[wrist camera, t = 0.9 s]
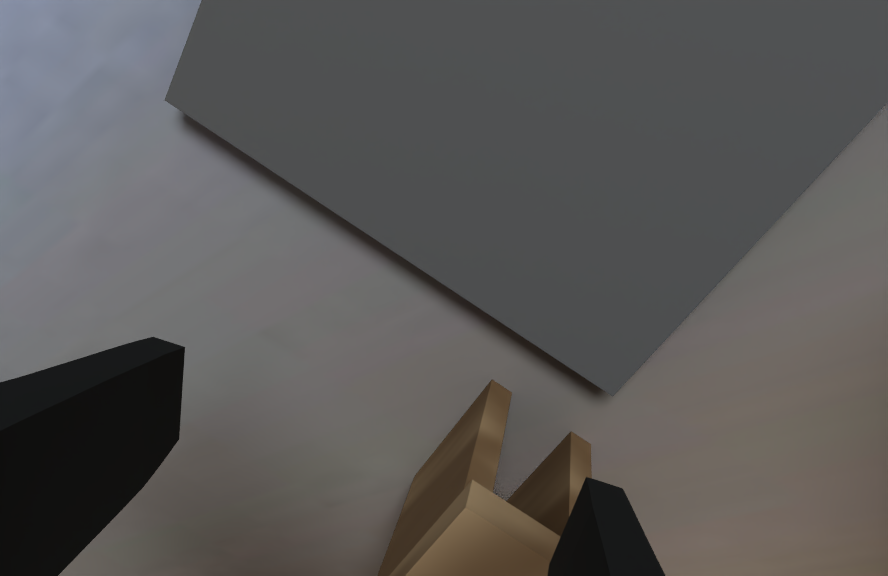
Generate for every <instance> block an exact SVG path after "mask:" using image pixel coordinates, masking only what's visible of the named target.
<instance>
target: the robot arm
mask: <svg viewBox="0 0 888 576" xmlns="http://www.w3.org/2000/svg"><path fill="white" fill-rule="evenodd" d="M184 353H185V347H183V346H180V345H177V344H173V343H170V342H167V341H164V340H161V339H158V338H155V337H151V338H147V339H143V340H139V341H135V342H132V343H128V344H125V345H122V346H118V347H115V348H112V349H109V350H105V351H102V352H99V353H96V354H93V355H89V356H86V357H83V358H80V359H77V360H74V361H70V362H67V363H64V364H61V365H58V366H54V367H51V368H48V369H45V370H41V371H38V372H35V373H32V374H29V375H25V376H22V377H19V378H15V379H11V380H8V381H4V382H0V576H58V575H59V574H60V573H61V572H62V571H63V570H64V569H65V568H66V567H67V566H68V565H69V564H70V563H71V562H72V561H73V559H74V558H75V557H76V556H77V555H78V554H79V553H80V552H81V551H82V550H83V549H84V548H85V547H86V546H87V545H88V544H89V543H90V542H91V541H92V540H93V539H94V538H95V537H96V536H97V535H98V534H99V533H100V532H101V531H102V530H103V529H104V528H105V527H106V526H107V525H108V524H109V523H110V521H111V520H112V519H113V518H114V517H115V516H116V515H117V514H118V513H119V512H120V511H121V510H122V509H123V508H124V507H125V506H126V505H127V504H128V503H129V502H130V501H131V500H132V498H133V497H134V496H135V495H136V494H137V493H138V492H139V491H140V490H141V489H142V488H143V487H144V485H145V484H146V483H147V482H148V480H149V479H150V478H151V476H152V475H153V474H154V473H155V471H156V470H157V469H158V467H159V466H160V465H161V463H162V462H163V461H164V459H165V458H166V456H167V455H168V454H169V452H170V451H171V450H172V448H173V447H174V445H175V444H176V443H177V441H178V440H179V431H180V415H181V399H182V384H183V368H184ZM548 576H665V574H664V572H663V570H662V568H661V566H660V564H659V562H658V560H657V558H656V556H655V554H654V552H653V550H652V548H651V546H650V544H649V542H648V540H647V538H646V536H645V534H644V531H643V529H642V527H641V525H640V523H639V521H638V519H637V517H636V515H635V513H634V511H633V508H632V506H631V504H630V502H629V500H628V498H627V496H626V494H625V492H624V490H623V489H622V488H619V487H616V486H613V485H610V484H607V483H604V482H601V481H598V480H595V479H591V478H588V477H586V478H585V481H584V483H583V485H582V488H581V490H580V492H579V495H578V497H577V500H576V502H575V504H574V507H573V509H572V511H571V514H570V516H569V518H568V521H567V523H566V526H565V528H564V530H563V533H562V535H561V537H560V540H559V542H558V544H557V547H556V549H555V552H554V554H553V556H552V559H551V561H550V563H549V569H548Z"/></svg>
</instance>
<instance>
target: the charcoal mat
mask: <svg viewBox="0 0 888 576" xmlns="http://www.w3.org/2000/svg"><path fill="white" fill-rule="evenodd" d="M165 101H167V102H168V103H170V104H171V105H173V106H174V107H176V108H177V109H179V110H180V111H182V112H183V113H185V114H186V115H188V116H189V117H191V118H192V119H194V120H195V121H197V122H198V123H200V124H201V125H203V126H204V127H206V128H207V129H209V130H210V131H212V132H213V133H215V134H216V135H218V136H220V137H221V138H223V139H224V140H226V141H227V142H229V143H230V144H232V145H233V146H235V147H236V148H238V149H239V150H241V151H242V152H244V153H245V154H247V155H248V156H250V157H251V158H253V159H254V160H256V161H257V162H259V163H260V164H262V165H263V166H265V167H266V168H268V169H269V170H271V171H272V172H274V173H275V174H277V175H279V176H280V177H282V178H283V179H285V180H286V181H288V182H289V183H291V184H292V185H294V186H295V187H297V188H298V189H300V190H301V191H303V192H304V193H306V194H307V195H309V196H310V197H312V198H313V199H315V200H316V201H318V202H319V203H321V204H322V205H324V206H325V207H327V208H328V209H330V210H331V211H333V212H334V213H336V214H337V215H339V216H341V217H342V218H344V219H345V220H347V221H348V222H350V223H351V224H353V225H354V226H356V227H357V228H359V229H360V230H362V231H363V232H365V233H366V234H368V235H369V236H371V237H372V238H374V239H375V240H377V241H378V242H380V243H381V244H383V245H384V246H386V247H387V248H389V249H390V250H392V251H393V252H395V253H396V254H398V255H399V256H401V257H403V258H404V259H406V260H407V261H409V262H410V263H412V264H413V265H415V266H416V267H418V268H419V269H421V270H422V271H424V272H425V273H427V274H428V275H430V276H431V277H433V278H434V279H436V280H437V281H439V282H440V283H442V284H443V285H445V286H446V287H448V288H449V289H451V290H452V291H454V292H455V293H457V294H458V295H460V296H461V297H463V298H465V299H466V300H468V301H469V302H471V303H472V304H474V305H475V306H477V307H478V308H480V309H481V310H483V311H484V312H486V313H487V314H489V315H490V316H492V317H493V318H495V319H496V320H498V321H499V322H501V323H502V324H504V325H505V326H507V327H508V328H510V329H511V330H513V331H514V332H516V333H517V334H519V335H520V336H522V337H524V338H525V339H527V340H528V341H530V342H531V343H533V344H534V345H536V346H537V347H539V348H540V349H542V350H543V351H545V352H546V353H548V354H549V355H551V356H552V357H554V358H555V359H557V360H558V361H560V362H561V363H563V364H564V365H566V366H567V367H569V368H570V369H572V370H573V371H575V372H576V373H578V374H579V375H581V376H582V377H584V378H586V379H587V380H589V381H590V382H592V383H593V384H595V385H596V386H598V387H599V388H601V389H602V390H604V391H605V392H607V393H608V394H610V395H611V396H613V395H614V394H615V393H616V392H617V391H618V390H619V389H620V388H621V387H622V386H623V385H624V384H625V383H626V382H627V380H628V379H629V378H630V377H631V376H632V375H633V374H634V373H635V372H636V371H637V370H638V369H639V368H640V367H641V365H642V364H643V363H644V362H645V361H646V360H647V359H648V358H649V357H650V356H651V355H652V354H653V353H654V352H655V350H656V349H657V348H658V347H659V346H660V345H661V344H662V343H663V342H664V341H665V340H666V339H667V338H668V337H669V336H670V334H671V333H672V332H673V331H674V330H675V329H676V328H677V327H678V326H679V325H680V324H681V323H682V322H683V321H684V319H685V318H686V317H687V316H688V315H689V314H690V313H691V312H692V311H693V310H694V309H695V308H696V307H697V306H698V304H699V303H700V302H701V301H702V300H703V299H704V298H705V297H706V296H707V295H708V294H709V293H710V292H711V291H712V289H713V288H714V287H715V286H716V285H717V284H718V283H719V282H720V281H721V280H722V279H723V278H724V277H725V276H726V274H727V273H728V272H729V271H730V270H731V269H732V268H733V267H734V266H735V265H736V264H737V263H738V262H739V261H740V259H741V258H742V257H743V256H744V255H745V254H746V253H747V252H748V251H749V250H750V249H751V248H752V247H753V246H754V244H755V243H756V242H757V241H758V240H759V239H760V238H761V237H762V236H763V235H764V234H765V233H766V232H767V231H768V230H769V228H770V227H771V226H772V225H773V224H774V223H775V222H776V221H777V220H778V219H779V218H780V217H781V216H782V215H783V213H784V212H785V211H786V210H787V209H788V208H789V207H790V206H791V205H792V204H793V203H794V202H795V201H796V200H797V198H798V197H799V196H800V195H801V194H802V193H803V192H804V191H805V190H806V189H807V188H808V187H809V186H810V185H811V183H812V182H813V181H814V180H815V179H816V178H817V177H818V176H819V175H820V174H821V173H822V172H823V171H824V170H825V168H826V167H827V166H828V165H829V164H830V163H831V162H832V161H833V160H834V159H835V158H836V157H837V156H838V155H839V153H840V152H841V151H842V150H843V149H844V148H845V147H846V146H847V145H848V144H849V143H850V142H851V141H852V140H853V138H854V137H855V136H856V135H857V134H858V133H859V132H860V131H861V130H862V129H863V128H864V127H865V126H866V125H867V124H868V122H869V121H870V120H871V119H872V118H873V117H874V116H875V115H876V114H877V113H878V112H879V111H880V110H881V109H882V107H883V106H884V105H885V104H886V103H887V102H888V0H202V1H201V4H200V7H199V9H198V12H197V15H196V17H195V20H194V23H193V25H192V28H191V31H190V33H189V36H188V39H187V41H186V44H185V47H184V49H183V52H182V55H181V57H180V60H179V63H178V66H177V68H176V71H175V74H174V76H173V79H172V82H171V84H170V87H169V90H168V92H167V95H166V98H165Z"/></svg>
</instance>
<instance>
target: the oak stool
mask: <svg viewBox="0 0 888 576" xmlns="http://www.w3.org/2000/svg"><path fill="white" fill-rule="evenodd" d="M511 395H512V392H510V391H509V390H507V389H506V388H504V387H503V386H501V385H500V384H498V383H496V382H495V381H493V380H491V381H490V383H489V384H488V385H487V386H486V388H485V389H484V390H483V391H482V393H481V394H480V395H479V396H478V398H477V399H476V400H475V401H474V403H473V404H472V405H471V406H470V408H469V409H468V410H467V411H466V413H465V414H464V415H463V416H462V418H461V419H460V420H459V421H458V423H457V424H456V425H455V427H454V428H453V429H452V430H451V432H450V433H449V434H448V435H447V437H446V438H445V439H444V440H443V442H442V443H441V444H440V445H439V447H438V448H437V449H436V450H435V452H434V453H433V454H432V455H431V457H430V458H429V459H428V460H427V462H426V463H425V464H424V465H423V467H422V468H421V469H420V470H419V472H418V473H417V474H416V475H415V477H414V480H413V482H412V485H411V488H410V490H409V493H408V496H407V498H406V501H405V504H404V506H403V509H402V512H401V514H400V517H399V520H398V522H397V525H396V528H395V530H394V533H393V536H392V538H391V541H390V544H389V546H388V549H387V552H386V554H385V557H384V560H383V563H382V565H381V568H380V571H379V573H378V576H548V569H549V563H550V561H551V559H552V556H553V554H554V552H555V549H556V547H557V544H558V542H559V540H560V537H561V535H562V533H563V530H564V528H565V526H566V523H567V521H568V518H569V516H570V514H571V511H572V509H573V507H574V504H575V502H576V500H577V497H578V495H579V492H580V490H581V488H582V485H583V483H584V481H585V478H586V477H588V478H591V479H592V477H591V444H589V443H588V442H586V441H585V440H583V439H582V438H580V437H579V436H577V435H576V434H574V433H573V432H570V433H569V434H568V435H567V436H566V437H565V439H564V440H563V441H562V442H561V443H560V444H559V445H558V446H557V447H556V448H555V449H554V450H553V452H552V453H551V454H550V455H549V456H548V457H547V458H546V459H545V460H544V461H543V462H542V463H541V464H540V466H539V467H538V468H537V469H536V470H535V471H534V472H533V473H532V474H531V475H530V476H529V477H528V479H527V480H526V481H525V482H524V483H523V484H522V485H521V486H520V487H519V488H518V489H517V490H516V492H515V493H514V494H513V495H512V496H511V497H510V498H509V499H508V500H507V501H505V500H503V499H502V498H500V497H499V496H497V495H495V494H494V493H493V489H494V484H495V478H496V473H497V468H498V463H499V457H500V452H501V447H502V442H503V437H504V431H505V426H506V421H507V416H508V410H509V405H510V400H511Z"/></svg>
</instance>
